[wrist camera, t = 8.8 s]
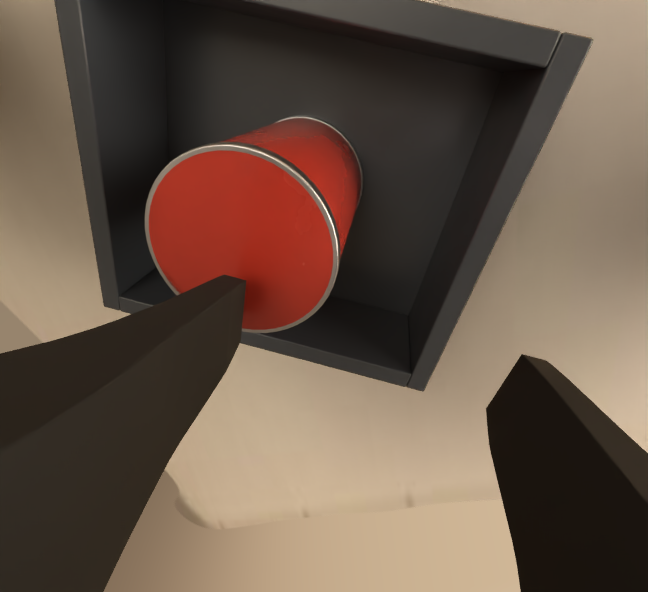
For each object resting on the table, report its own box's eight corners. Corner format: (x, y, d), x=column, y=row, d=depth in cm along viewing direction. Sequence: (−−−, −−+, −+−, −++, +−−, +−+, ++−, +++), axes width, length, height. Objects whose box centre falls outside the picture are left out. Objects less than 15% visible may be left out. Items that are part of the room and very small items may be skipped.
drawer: (530, 52, 13) (596, 37, 9) (417, 324, 20) (423, 392, 16) (151, -32, 14) (39, -83, 10) (165, 259, 21) (103, 306, 16)
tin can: (377, 131, 15) (361, 174, 8) (348, 248, 18) (318, 352, 11) (253, 102, 15) (135, 119, 8) (243, 221, 18) (150, 308, 11)
